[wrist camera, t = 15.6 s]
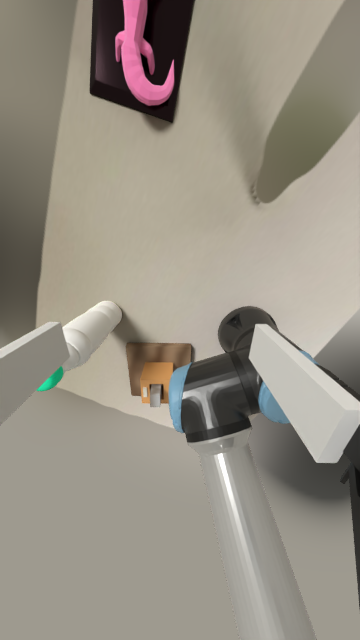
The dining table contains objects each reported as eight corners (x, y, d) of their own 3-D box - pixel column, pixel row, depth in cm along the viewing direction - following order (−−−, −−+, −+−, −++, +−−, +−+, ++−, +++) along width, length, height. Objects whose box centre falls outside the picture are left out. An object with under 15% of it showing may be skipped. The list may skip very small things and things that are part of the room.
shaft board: (190, 343, 48) (194, 371, 37) (188, 391, 55) (190, 426, 44) (127, 342, 48) (112, 370, 37) (133, 390, 55) (121, 426, 44)
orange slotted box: (172, 384, 51) (172, 404, 45) (146, 383, 51) (141, 404, 44) (173, 362, 48) (172, 380, 42) (145, 362, 48) (139, 380, 41)
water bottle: (98, 325, 46) (16, 400, 23) (93, 299, 43) (-6, 356, 20) (124, 325, 46) (68, 400, 23) (120, 300, 43) (54, 356, 20)
